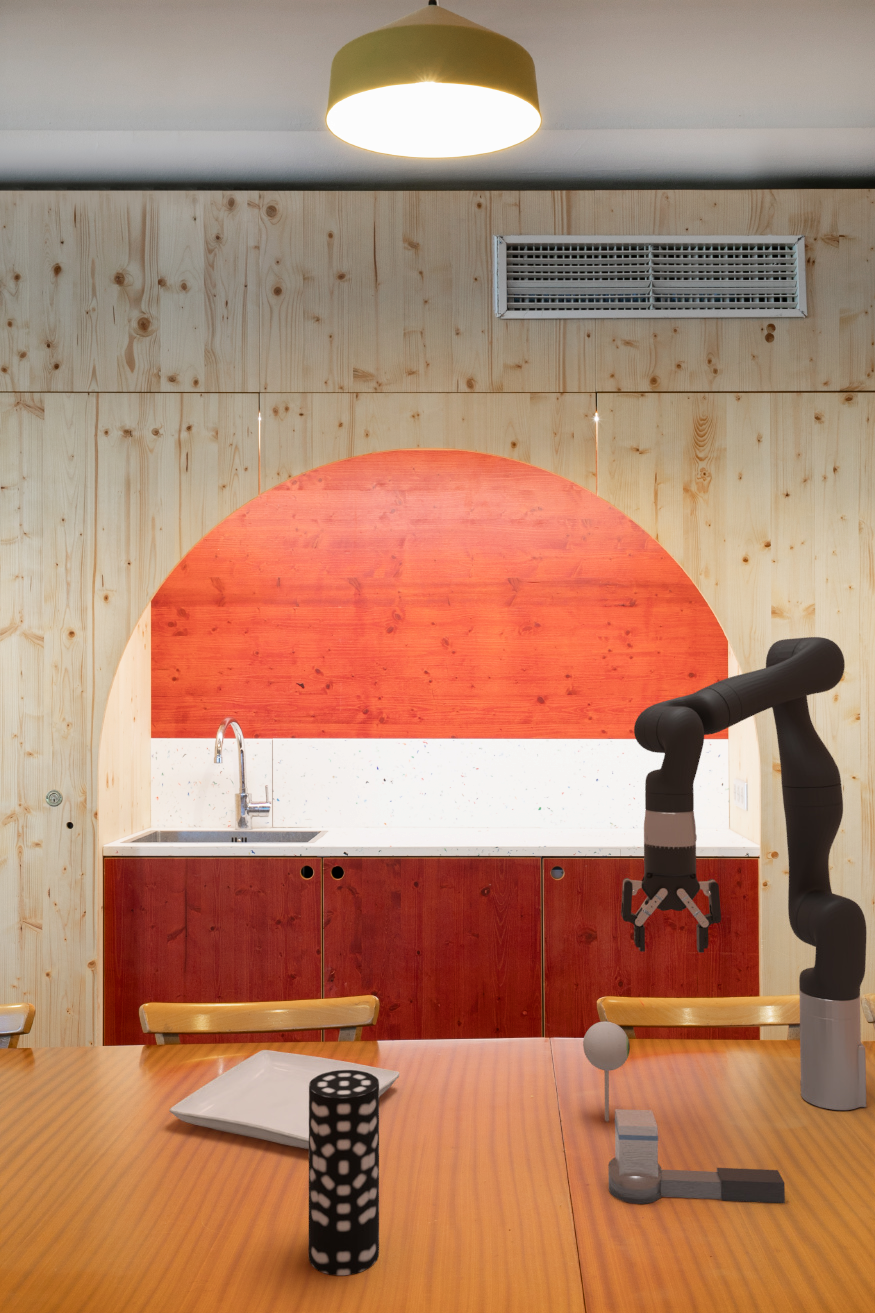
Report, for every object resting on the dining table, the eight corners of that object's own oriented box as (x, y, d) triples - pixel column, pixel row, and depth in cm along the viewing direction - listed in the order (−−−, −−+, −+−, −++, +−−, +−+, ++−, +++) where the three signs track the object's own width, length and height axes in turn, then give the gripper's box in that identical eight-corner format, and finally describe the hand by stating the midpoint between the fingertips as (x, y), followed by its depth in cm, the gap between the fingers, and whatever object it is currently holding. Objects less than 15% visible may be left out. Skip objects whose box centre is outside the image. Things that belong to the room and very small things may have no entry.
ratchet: (774, 1183, 132) (773, 1130, 133) (788, 1210, 125) (787, 1155, 126) (606, 1176, 134) (606, 1124, 135) (610, 1203, 127) (610, 1148, 128)
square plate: (165, 1133, 149) (165, 1107, 149) (263, 1068, 174) (263, 1046, 174) (323, 1166, 138) (323, 1138, 138) (402, 1092, 164) (402, 1068, 164)
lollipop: (630, 1133, 147) (629, 1032, 148) (582, 1128, 149) (581, 1029, 149) (630, 1113, 154) (629, 1016, 155) (584, 1109, 156) (584, 1013, 156)
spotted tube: (310, 1237, 120) (310, 1071, 120) (378, 1233, 120) (378, 1069, 121) (306, 1278, 111) (307, 1099, 112) (379, 1274, 112) (379, 1097, 113)
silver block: (652, 1159, 133) (652, 1110, 133) (658, 1177, 128) (658, 1127, 128) (614, 1157, 133) (614, 1109, 134) (619, 1176, 128) (618, 1126, 129)
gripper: (713, 837, 148) (715, 945, 148) (618, 836, 150) (619, 943, 149) (723, 845, 141) (725, 959, 140) (623, 844, 142) (624, 957, 142)
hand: (670, 951), depth 145 cm, fingers open, 8 cm apart
